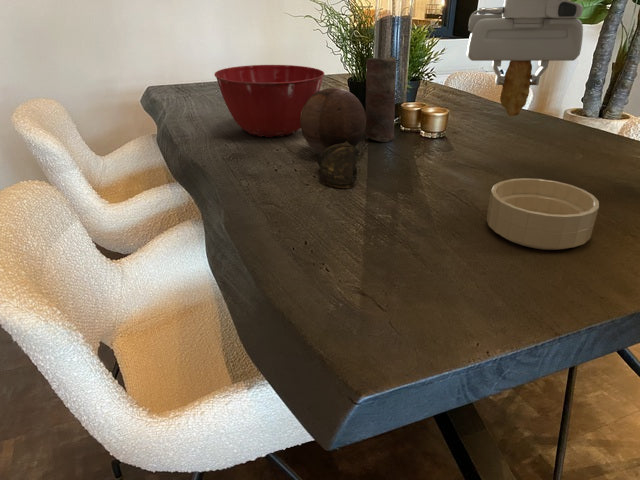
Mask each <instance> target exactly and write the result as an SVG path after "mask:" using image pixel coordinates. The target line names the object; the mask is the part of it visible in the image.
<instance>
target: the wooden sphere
mask: <svg viewBox="0 0 640 480" xmlns="http://www.w3.org/2000/svg"><path fill="white" fill-rule="evenodd" d="M365 113H366V110H365V108H364V106H363V104H362V102H361V101H360V99H359V98H358V97H356V95H355V94H353V93H352V92H350V91H348V90H346V89H344V88H340V87H327V88H323V89H320V91H318V92H317V93H315V94H314V95H312V96H311V97H310V98H309V99H308V101H307V102H306V104H305V105H304V107H303V110H302V113H301V118H300V125H301V128H300V130H301V134H302V136H303V138H304V140H305V142H306V143H307V144H308V145H309V146H310V148H312V149H313V150H314V151H316V152H318V153H320V154H321V153H322V152H323V151H324V150H325V149H327V148H328V147H330V146H333V145H336V144H341V143H345V142H346V141H347V142H348V143H349V144H350V145H352V146H354V147H357V146H358V144H359V143H360V142H361V141H362V139H363V136H364V135H365V128H366V115H365Z"/></svg>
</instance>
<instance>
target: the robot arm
mask: <svg viewBox="0 0 640 480" xmlns="http://www.w3.org/2000/svg"><path fill="white" fill-rule="evenodd" d="M583 11H584V6H583V5H582V4H581V3H577V2H575V1H572V0H504V1H503V7H502V6H500V7H499V6H497V7H496V6H495V7H478V9H477V10H475V11H473V12H472V13H471V14H470V15H469V19H468V26H467V27H468V31H469V33H470V34H469V38H468V43H467V48H466V56H467V58H468V59H469V60H470V61H472V62H485V61H487V62H488V61H489V62H490V61H491V67H492V69H493V73H494V74H495V81H494V85H496V86H502V85H504V80H505V74H501V72H500V70H499V68H500V67H501V66H502V61H503V62H504V61H505V62H506V61H507V62H510V61H531V62H534V61H535V62H536V61H537V65H538V69H537V70H536V72H534V74H531V80H530V86H539V84H540V78H541V76H542V75H543V74H544V73H545V71H546V70H547V69H548V68H549V64H550V62H551V61H552V62H553V61H554V62H555V61H556V62H558V61H559V62H562V61H563V62H564V61H565V62H566V61H567V62H568V61H569V62H571V61H573V62H574V61H576V60H577V59H578V58H579V56H580V54H581V51H582V46H583V37H584V26H583V23H582V21H581V20H580V19H579V18H580V17H581V16H582V15H583Z"/></svg>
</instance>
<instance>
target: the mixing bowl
mask: <svg viewBox="0 0 640 480" xmlns="http://www.w3.org/2000/svg"><path fill="white" fill-rule="evenodd" d="M325 76H326V75H325V71H323V70H322V69H318V68H316V67H310V66H304V65H292V64H251V65H240V66H232V67H227V68H222V69H218V70H216V71H215V72H214V77H215V78H216V81H217V84H218V87H219V90H220V93H221V95H222V98H223V101H224V102H225V105H226V107H227V109H228V111H229V113H230V114H231V116H232V118H233V120H234V121H235V123H236V125H238V126H239V127H240V128H241V129H242V130H244V131H245V132H247V133H248V134H250V135H252V134H253V136H255V135H257V136H256V137H262V136H265V137H264V138H274V137H273V136H281V137H284V136H283V135H287V136H289V135H288V134H290V135H292V134H291V133H293V132H295V131H296V132H297V131H299V130H301V125H300V118H301V113H302V110H303V107H304V105H305V104H306V102H307V101H308V99H309V98H310V97H311V96H312V95H314V94H315V93H317V92H318V91H320V90H321V87H322V83H323V78H324V77H325ZM296 132H295V133H296ZM293 134H294V133H293Z"/></svg>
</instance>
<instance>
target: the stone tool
mask: <svg viewBox="0 0 640 480" xmlns="http://www.w3.org/2000/svg"><path fill="white" fill-rule="evenodd" d="M532 70H533V65H532V61H509V63H508V67H507V69H506V70H505V74H504V75H505V80H504V85H501V87H502V89H501V93H500V97H499V98H500V99H499V100H500V104H501V106H502V107H503V108H504V109H505V110H506V114H507V115H508V116H509V117H513V116H518V115H520V113H521V111H522V110H523V108H524V107H525V106H526V104H527V101H528V97H529V95H530V88H531V85H530V80H531V75H532V72H533V71H532Z"/></svg>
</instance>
